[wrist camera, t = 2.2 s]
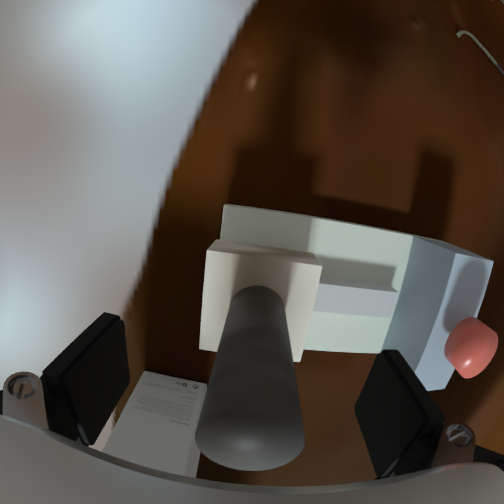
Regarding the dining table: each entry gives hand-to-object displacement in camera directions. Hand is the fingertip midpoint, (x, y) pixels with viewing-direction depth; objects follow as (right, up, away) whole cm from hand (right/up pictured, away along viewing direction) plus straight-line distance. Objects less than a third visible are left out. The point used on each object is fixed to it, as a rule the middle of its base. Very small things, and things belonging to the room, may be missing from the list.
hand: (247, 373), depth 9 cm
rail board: (+7, +2, +12) cm, 14 cm away
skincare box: (-7, -11, +16) cm, 21 cm away
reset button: (+13, -1, +4) cm, 14 cm away
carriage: (+1, +2, +10) cm, 10 cm away
